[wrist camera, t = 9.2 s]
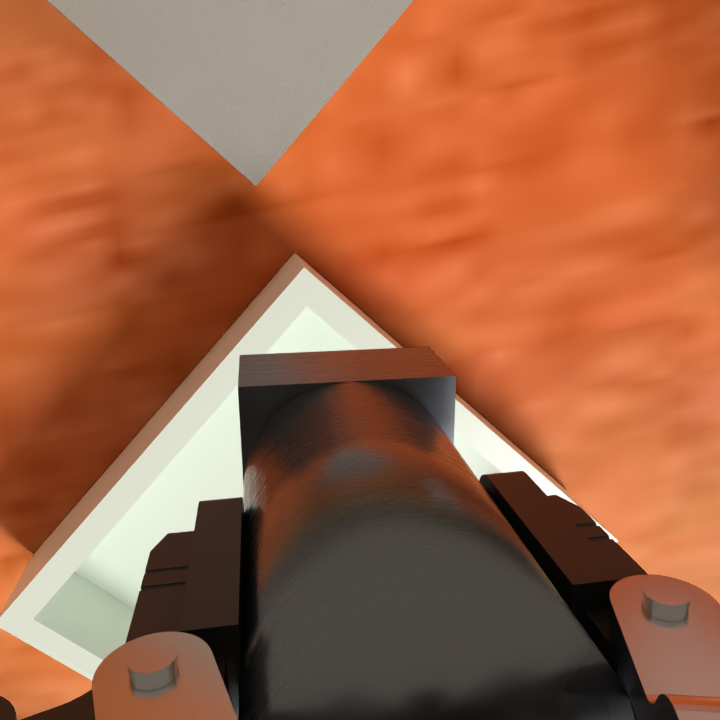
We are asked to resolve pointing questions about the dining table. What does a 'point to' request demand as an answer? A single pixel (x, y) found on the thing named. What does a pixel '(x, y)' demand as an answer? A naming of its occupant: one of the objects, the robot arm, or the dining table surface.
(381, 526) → the dark grey stamp
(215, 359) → the sage bin
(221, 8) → the stud plate
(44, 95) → the dining table surface
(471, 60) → the dining table surface
